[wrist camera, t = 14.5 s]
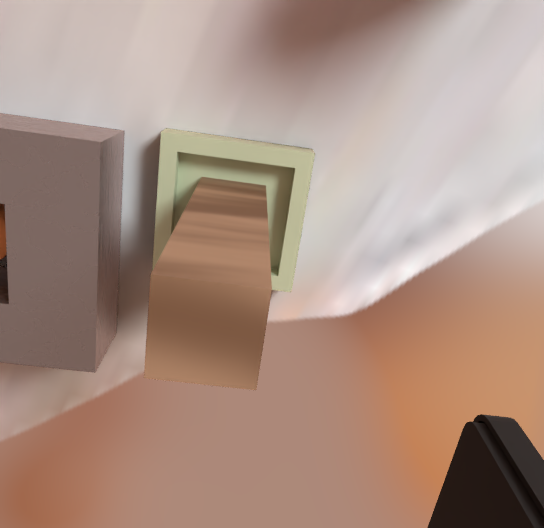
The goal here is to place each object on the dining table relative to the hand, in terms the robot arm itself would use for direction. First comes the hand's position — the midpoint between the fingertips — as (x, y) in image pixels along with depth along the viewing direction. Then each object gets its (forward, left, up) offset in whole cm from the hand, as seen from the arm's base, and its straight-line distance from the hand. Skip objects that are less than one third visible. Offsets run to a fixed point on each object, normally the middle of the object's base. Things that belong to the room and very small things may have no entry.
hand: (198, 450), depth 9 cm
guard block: (+5, -15, -25) cm, 30 cm away
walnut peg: (+2, 0, -24) cm, 24 cm away
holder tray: (+2, 0, -25) cm, 25 cm away
